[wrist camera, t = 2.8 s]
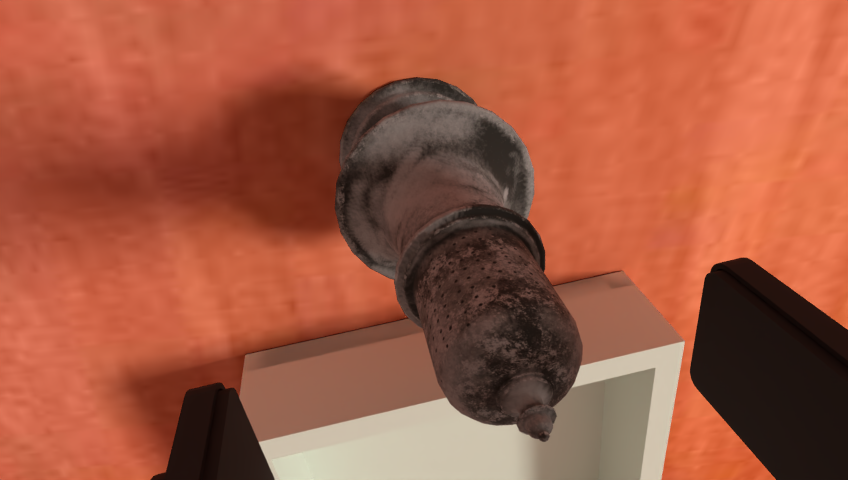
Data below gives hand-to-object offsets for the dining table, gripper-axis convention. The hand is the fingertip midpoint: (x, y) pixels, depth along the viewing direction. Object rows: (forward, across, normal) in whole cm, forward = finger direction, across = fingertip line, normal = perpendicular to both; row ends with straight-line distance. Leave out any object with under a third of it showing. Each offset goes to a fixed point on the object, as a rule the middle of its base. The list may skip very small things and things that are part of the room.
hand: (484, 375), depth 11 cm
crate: (+10, -1, +14) cm, 17 cm away
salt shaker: (+10, -1, -1) cm, 10 cm away
